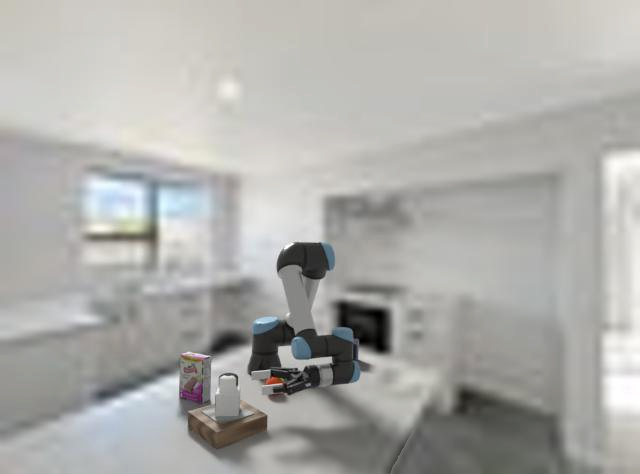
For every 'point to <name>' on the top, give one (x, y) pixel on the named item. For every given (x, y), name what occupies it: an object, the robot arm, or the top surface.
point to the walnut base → (227, 424)
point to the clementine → (274, 381)
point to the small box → (355, 349)
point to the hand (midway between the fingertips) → (256, 382)
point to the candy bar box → (195, 377)
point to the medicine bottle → (227, 396)
